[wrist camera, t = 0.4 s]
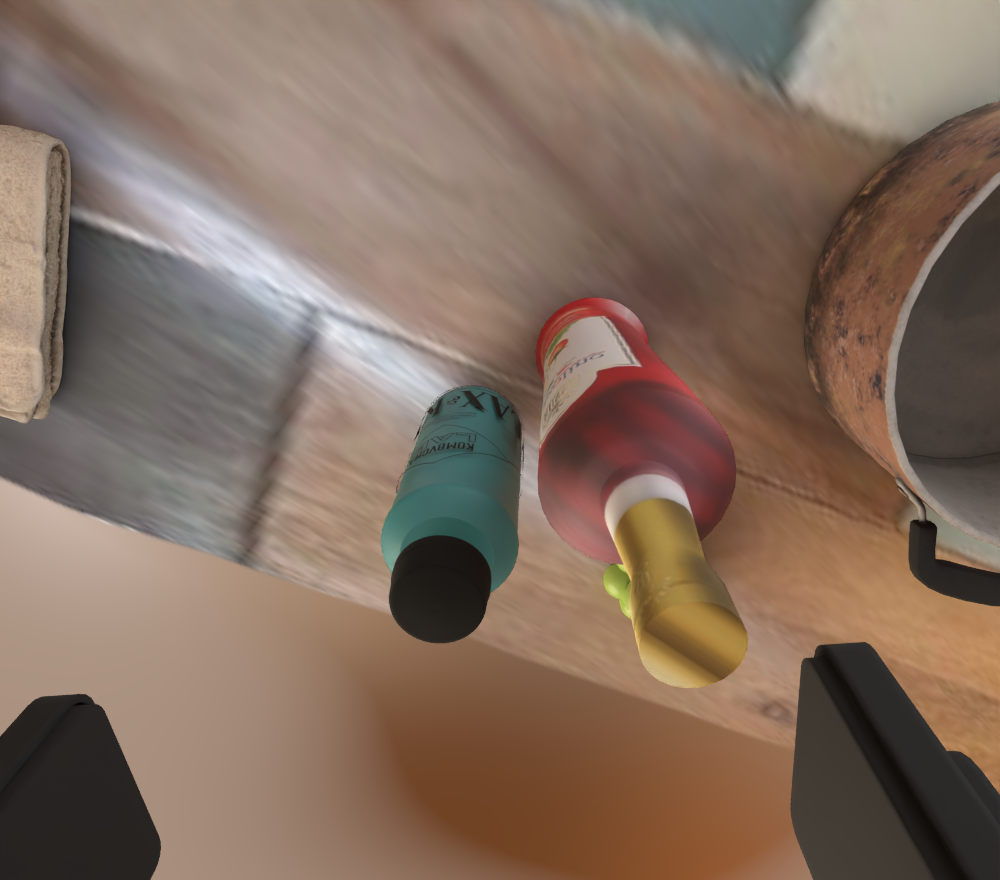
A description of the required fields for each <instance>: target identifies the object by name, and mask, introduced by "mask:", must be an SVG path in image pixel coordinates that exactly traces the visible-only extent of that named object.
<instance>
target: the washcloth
mask: <svg viewBox="0 0 1000 880" xmlns="http://www.w3.org/2000/svg"><path fill="white" fill-rule="evenodd" d="M70 196H71V167H70V157H69V153H68V150H67V148H66V146H65V144H64V143H63V142H62V141H61V140H60V139H56V138H53V137H51V136H49V135H47V134H45V133H41V132H36V131H31V130H25V129H23V128H20V127H15V126H8V125H0V416H3V417H6V418H10V419H13V420H17V421H18V422H21V423H28V422H29V421H30V420H31V418H32V417H33V418H37V419H43V418H46V417H47V415H48V414H49V409H50V407H51V406H50V400H51V399H52V397H53V396H54V394H55V393H56V392H57V390H58V388H59V384H60V380H61V377H62V364H63V359H62V358H63V339H62V331H63V322H64V314H65V305H66V291H67V249H68V235H69V217H70Z"/></svg>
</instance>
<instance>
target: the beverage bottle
mask: <svg viewBox="0 0 1000 880" xmlns="http://www.w3.org/2000/svg"><path fill="white" fill-rule="evenodd" d="M453 389H454V388H453ZM451 390H452V389H451ZM448 391H449V390H448ZM446 392H447V391H446ZM444 393H445V392H444ZM441 395H442V394H441ZM438 397H439V396H438ZM505 398H506V397H505ZM505 398H504V397H503V395H502V396H501V395H500V393H499V394H498V392H497V393H496V391H495V392H494V390H493V391H492V389H489V388H488V389H487V388H485V387H484V388H483V387H481V386H479V387H477V386H467V387H464V386H461V388H458V387H457V389H454V390H452V391H449V392H448V393H446V394H444V395H443V396H441V397H439V398H438V400H437V401H436V402H435V403H434V404H433V405H432V406H431V407H428V408H430V409H429V410H428V411H427V412H428V415H427V417H426V419H425V422H424V424H423V427H420V428H422V430H421V432H420V435H419V437H418V440H417V442H416V445H415V447H414V450H413V453H411V458H410V460H409V461H408V465H407V468H406V471H405V472H404V476H403V478H402V481H401V484H400V488H399V491H398V492H397V491H396V494H397V496H396V498H395V501H394V503H393V506H392V508H391V510H390V511H389V513H388V515H387V517H386V519H385V522H384V526H383V529H382V535H381V547H382V553H383V556H384V560H385V562H386V564H387V566H388V568H389V569H390V571H391V572H392V576H391V588H390V594H389V604H390V609H391V612H392V615H393V617H394V619H395V620H396V622H397V623H398V625H399V626H400V627H401V628H402V629H403V630H404V631H406V632H407V633H408V634H410V635H411V636H413V637H415V638H417V639H420V640H422V641H426V642H430V643H449V642H454V641H457V640H460V639H462V638H464V637H466V636H468V635H469V634H471V633H472V632H473V631H474V630H475V629H476V628H477V627H478V625H479V624H480V623H481V621H482V619H483V617H484V614H485V611H486V606H487V602H488V599H489V596H490V593H491V592H492V591H494V590H495V589H496V588H498V587H499V586H500V585H501V584H502V583H503V582H504V581H505V580H506V579H507V577H508V576H509V575H510V573H511V571H512V570H513V568H514V565H515V563H516V560H517V555H518V547H519V543H518V534H517V530H518V507H519V493H520V475H521V474H520V471H521V466H522V465H521V464H522V462H523V461H524V440H523V445H522V448H521V437H522V432H521V423H523V422H521V423H520V420H519V418H520V417H518V415H517V414H518V413H517V412H516V410H517V409H516V410H514V408H513V406H514V405H513V404H512V403H511V404H512V405H513V406H512V405H511V404H510V403H509V402H508V401H507V400H508V399H507V398H506V399H507V400H506V399H505ZM431 404H432V403H431ZM425 415H426V414H425ZM424 417H425V416H424ZM423 419H424V418H423ZM422 421H423V420H422ZM420 426H422V425H420ZM420 428H419V430H420ZM523 428H524V427H523ZM419 430H418V432H417V435H418V434H419ZM523 431H524V430H523ZM417 435H416V437H417ZM416 437H415V439H416ZM521 450H523V456H522V457H523V461H522V462H521V455H522V454H521V453H522V452H521ZM409 457H410V455H409ZM406 462H407V461H406ZM404 466H405V465H404ZM405 467H406V466H405ZM522 471H523V470H522ZM402 475H403V474H402ZM402 475H401V476H402ZM521 477H522V476H521ZM399 479H400V478H399ZM398 482H399V480H398ZM397 487H398V486H397ZM397 487H396V489H397ZM520 496H521V495H520Z"/></svg>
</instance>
